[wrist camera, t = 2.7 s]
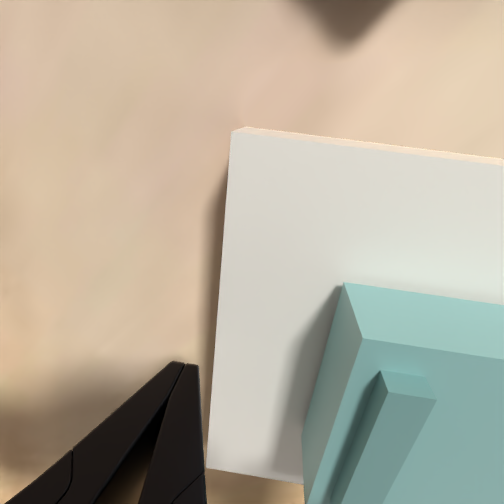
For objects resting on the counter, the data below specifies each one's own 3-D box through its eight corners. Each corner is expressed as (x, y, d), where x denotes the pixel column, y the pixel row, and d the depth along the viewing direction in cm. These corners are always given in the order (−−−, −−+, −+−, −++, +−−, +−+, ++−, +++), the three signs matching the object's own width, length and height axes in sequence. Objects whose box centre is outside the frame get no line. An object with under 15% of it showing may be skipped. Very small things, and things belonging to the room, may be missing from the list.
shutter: (590, 317, 8) (734, 415, 6) (484, 465, 11) (546, 577, 9) (343, 282, 9) (369, 358, 6) (301, 435, 12) (306, 533, 9)
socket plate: (847, 201, 10) (1070, 237, 7) (588, 469, 15) (653, 545, 13) (245, 126, 10) (231, 131, 8) (219, 408, 16) (205, 467, 14)
